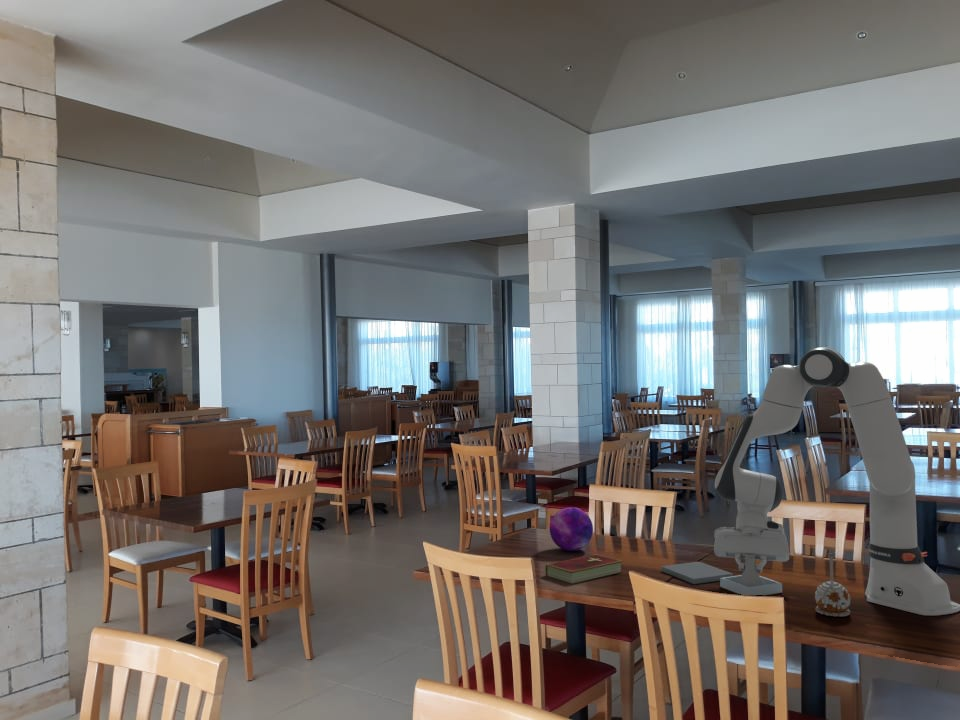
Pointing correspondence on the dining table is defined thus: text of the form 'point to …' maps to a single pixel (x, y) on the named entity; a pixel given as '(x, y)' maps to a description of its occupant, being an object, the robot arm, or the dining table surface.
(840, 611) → the decorative ornament
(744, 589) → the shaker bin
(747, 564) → the flask
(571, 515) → the decorative orb
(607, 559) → the hardcover book
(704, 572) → the slate board
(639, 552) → the dining table surface
